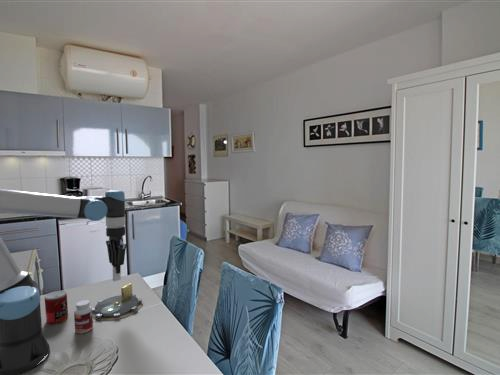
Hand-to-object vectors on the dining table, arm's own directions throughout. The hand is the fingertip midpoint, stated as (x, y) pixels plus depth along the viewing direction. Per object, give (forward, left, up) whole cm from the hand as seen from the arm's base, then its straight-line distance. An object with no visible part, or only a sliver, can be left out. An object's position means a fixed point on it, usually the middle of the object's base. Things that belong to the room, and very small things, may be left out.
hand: (116, 280), depth 125 cm
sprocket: (+5, 0, -15) cm, 16 cm away
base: (+5, 0, -15) cm, 16 cm away
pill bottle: (-8, +12, -15) cm, 21 cm away
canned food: (+6, +23, -15) cm, 29 cm away
